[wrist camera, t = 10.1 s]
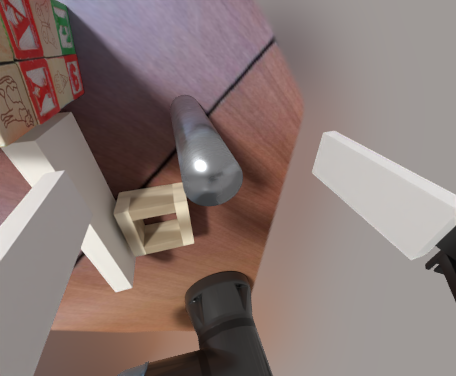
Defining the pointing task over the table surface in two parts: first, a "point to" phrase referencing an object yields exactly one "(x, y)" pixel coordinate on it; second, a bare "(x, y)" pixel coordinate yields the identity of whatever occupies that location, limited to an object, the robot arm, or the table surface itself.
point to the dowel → (203, 155)
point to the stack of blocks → (35, 65)
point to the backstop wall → (87, 187)
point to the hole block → (150, 207)
